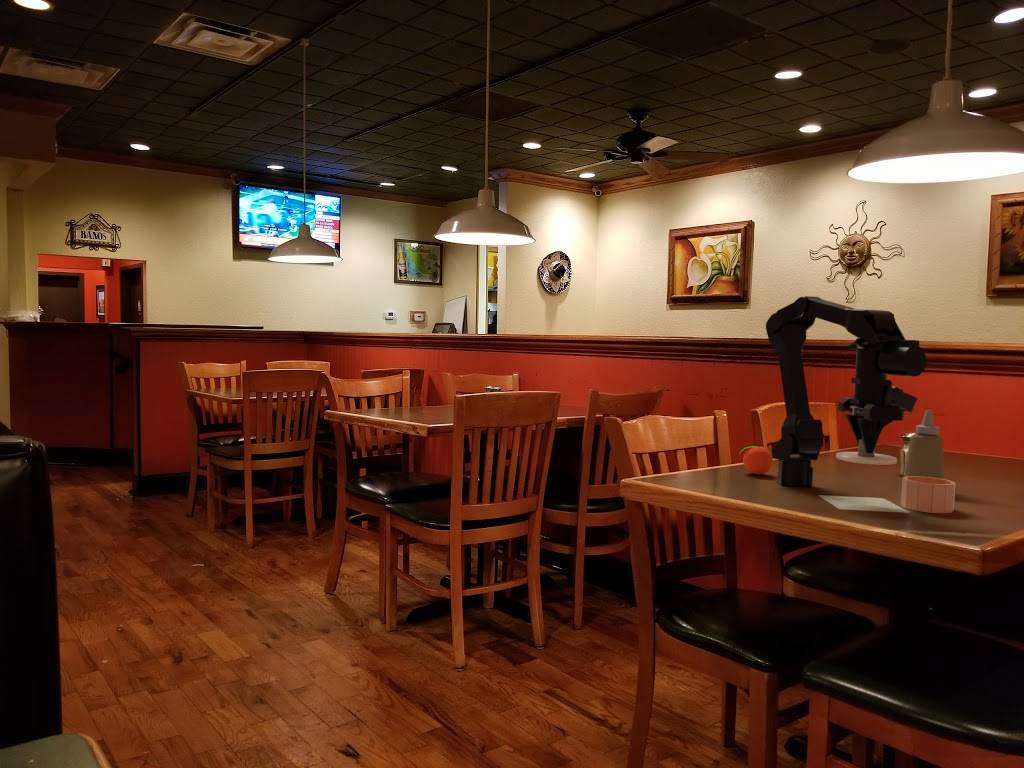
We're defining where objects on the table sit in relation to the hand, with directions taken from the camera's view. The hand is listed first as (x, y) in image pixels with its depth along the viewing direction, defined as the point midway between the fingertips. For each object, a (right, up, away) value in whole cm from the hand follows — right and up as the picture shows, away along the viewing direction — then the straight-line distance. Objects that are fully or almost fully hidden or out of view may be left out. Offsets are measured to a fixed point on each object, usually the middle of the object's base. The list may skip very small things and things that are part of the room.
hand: (866, 452), depth 154 cm
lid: (0, -2, 0) cm, 2 cm away
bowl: (+11, -11, -1) cm, 16 cm away
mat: (-1, -11, +1) cm, 11 cm away
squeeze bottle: (+23, -11, +22) cm, 33 cm away
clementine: (-11, -9, +35) cm, 37 cm away
